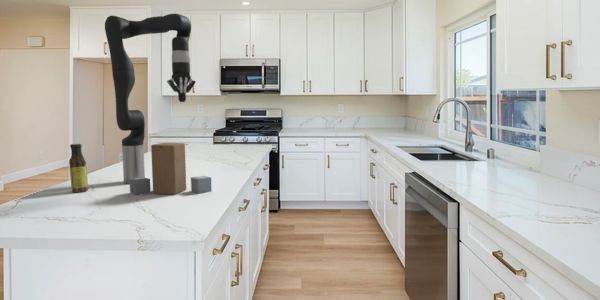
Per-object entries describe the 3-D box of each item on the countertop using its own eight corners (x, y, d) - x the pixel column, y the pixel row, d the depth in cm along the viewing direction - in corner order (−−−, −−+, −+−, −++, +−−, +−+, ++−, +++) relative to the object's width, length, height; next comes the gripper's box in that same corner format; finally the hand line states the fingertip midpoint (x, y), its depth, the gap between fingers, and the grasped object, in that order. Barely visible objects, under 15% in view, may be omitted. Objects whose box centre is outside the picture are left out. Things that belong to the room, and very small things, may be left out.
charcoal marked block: (130, 193, 174) (129, 178, 173) (144, 191, 178) (143, 176, 178) (136, 195, 170) (135, 180, 169) (150, 193, 174) (150, 178, 173)
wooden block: (175, 195, 171) (173, 145, 168) (152, 194, 173) (150, 144, 170) (186, 189, 180) (185, 142, 178) (165, 189, 182) (163, 142, 180)
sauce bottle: (91, 190, 179) (88, 143, 177) (78, 193, 174) (75, 144, 171) (80, 189, 182) (78, 142, 180) (67, 192, 176) (64, 144, 174)
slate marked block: (191, 191, 178) (190, 176, 177) (204, 189, 182) (203, 174, 181) (198, 193, 173) (198, 178, 172) (211, 191, 177) (211, 176, 176)
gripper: (190, 63, 193) (191, 101, 195) (162, 61, 184) (164, 102, 186) (198, 62, 187) (199, 101, 189) (170, 60, 178) (172, 102, 180)
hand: (182, 101), depth 188 cm, fingers closed
